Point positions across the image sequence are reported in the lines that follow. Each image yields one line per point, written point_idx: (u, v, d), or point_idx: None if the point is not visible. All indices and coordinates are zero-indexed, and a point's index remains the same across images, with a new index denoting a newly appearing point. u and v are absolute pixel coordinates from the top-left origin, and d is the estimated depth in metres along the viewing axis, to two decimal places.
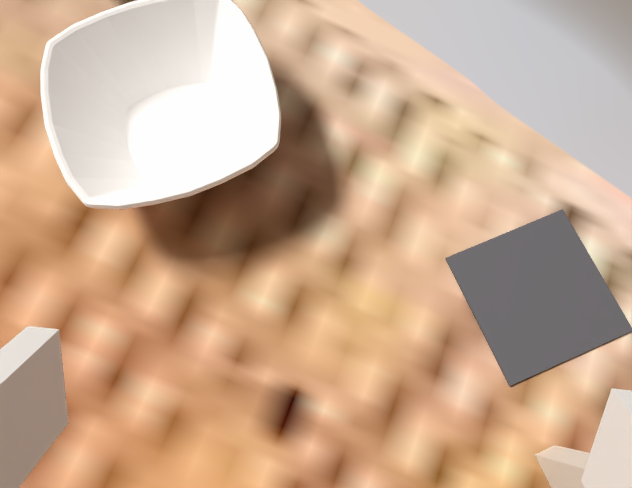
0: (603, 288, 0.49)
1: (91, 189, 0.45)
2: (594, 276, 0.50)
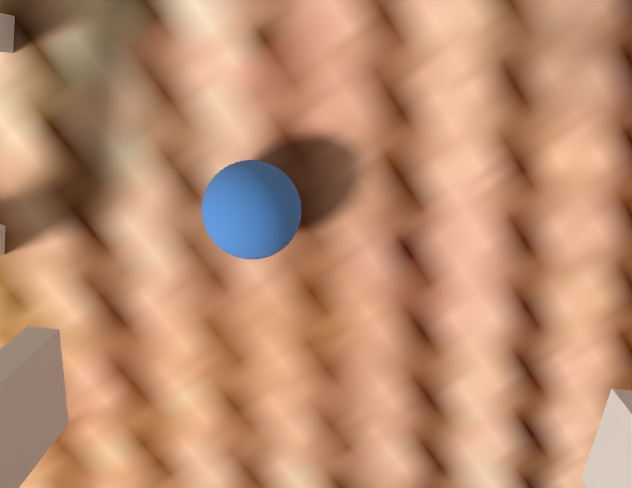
0: None
1: None
2: None
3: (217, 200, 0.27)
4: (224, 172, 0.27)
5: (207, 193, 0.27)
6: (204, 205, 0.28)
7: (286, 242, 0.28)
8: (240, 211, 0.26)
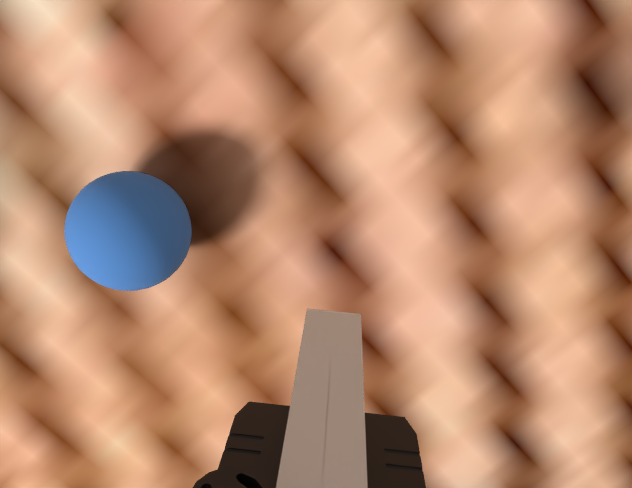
0: None
1: None
2: None
3: (72, 227, 0.22)
4: (81, 192, 0.22)
5: None
6: (65, 234, 0.23)
7: (172, 266, 0.23)
8: (98, 239, 0.21)
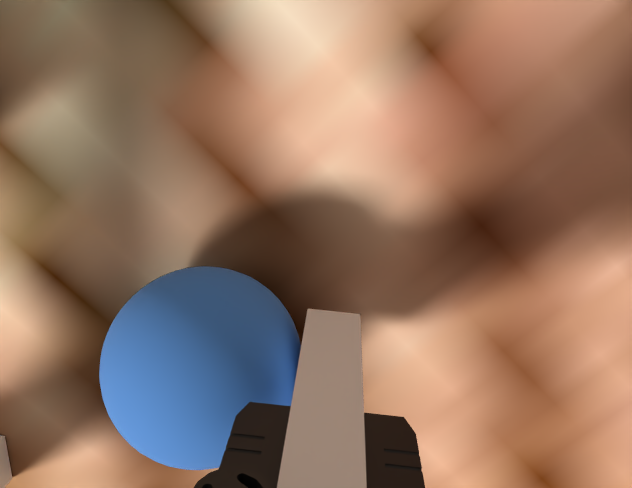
0: None
1: None
2: None
3: None
4: None
5: None
6: None
7: (116, 427, 0.13)
8: None
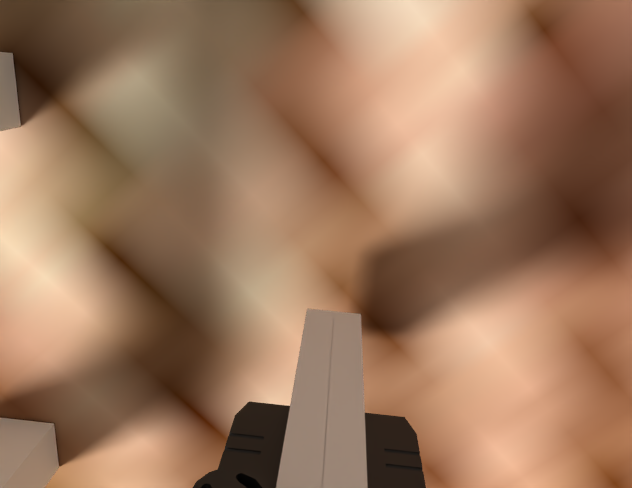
0: None
1: None
2: None
3: None
4: None
5: None
6: None
7: None
8: None
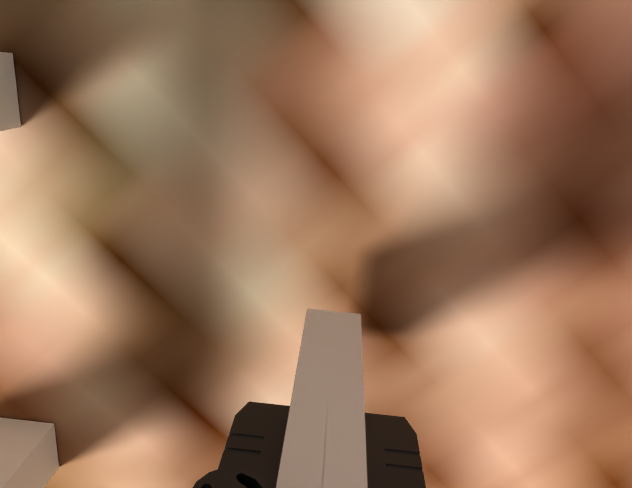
0: None
1: None
2: None
3: None
4: None
5: None
6: None
7: None
8: None
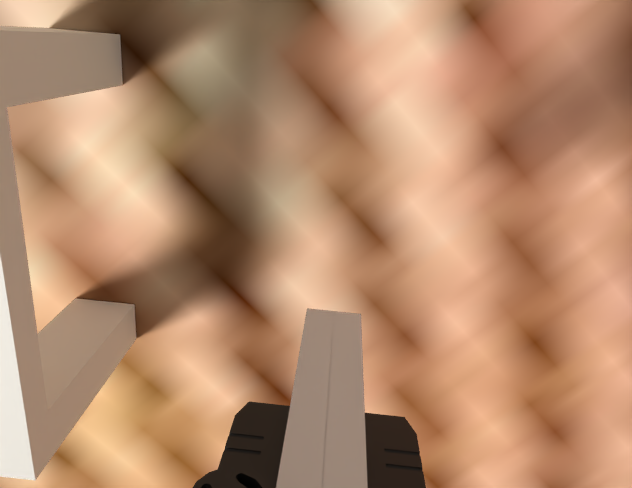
0: None
1: None
2: None
3: None
4: None
5: None
6: None
7: None
8: None
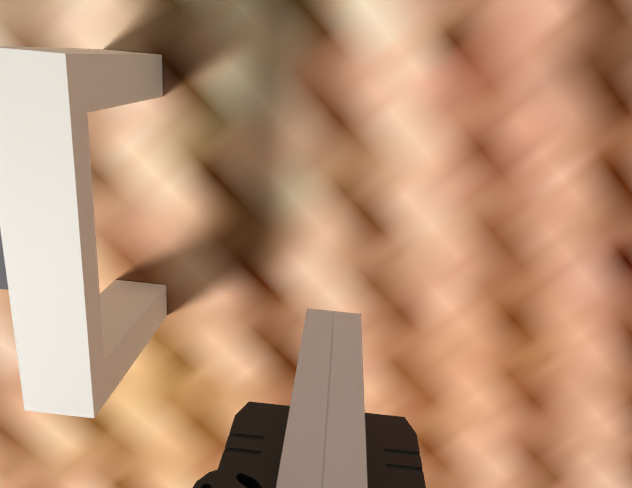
0: None
1: None
2: None
3: None
4: None
5: None
6: None
7: None
8: None
